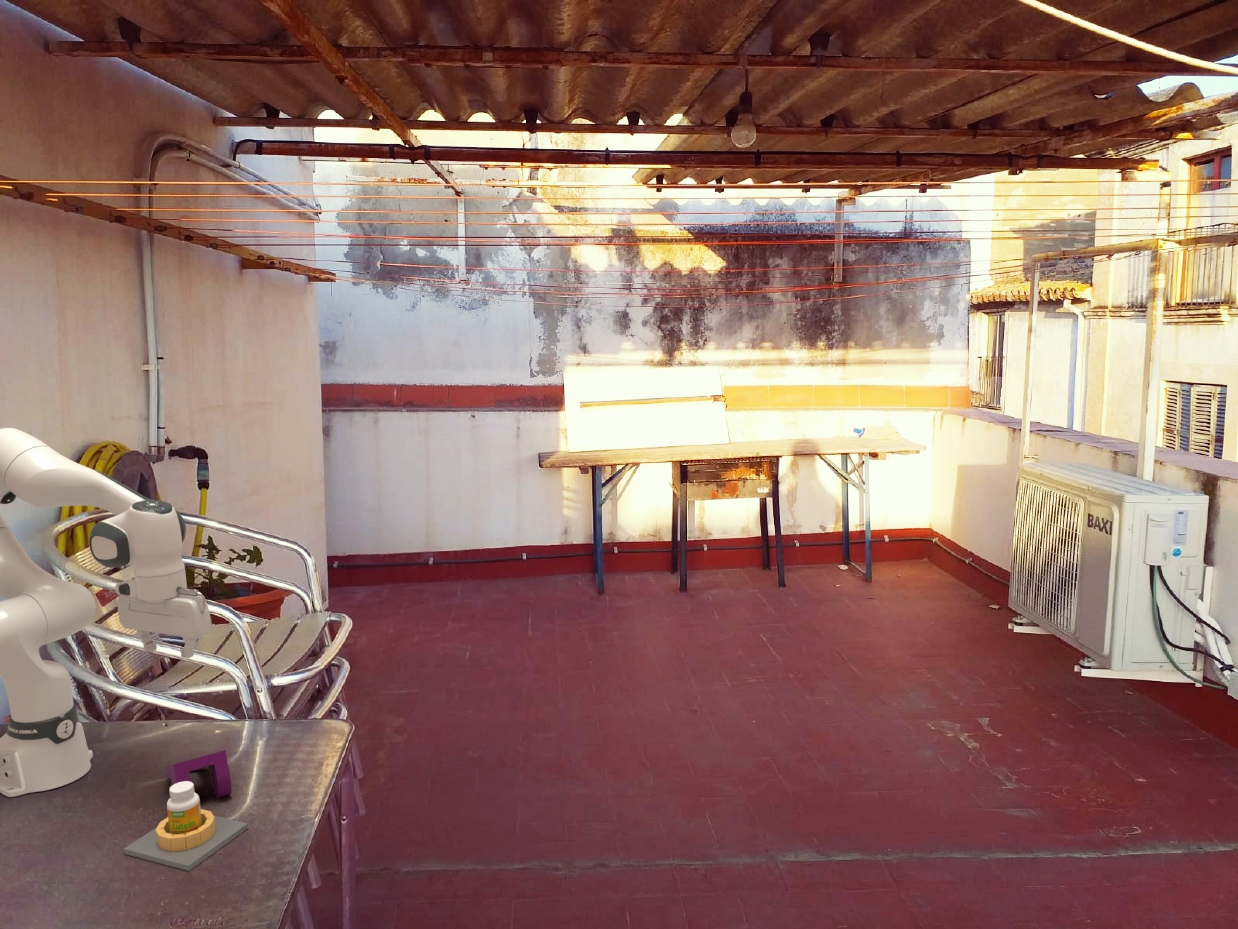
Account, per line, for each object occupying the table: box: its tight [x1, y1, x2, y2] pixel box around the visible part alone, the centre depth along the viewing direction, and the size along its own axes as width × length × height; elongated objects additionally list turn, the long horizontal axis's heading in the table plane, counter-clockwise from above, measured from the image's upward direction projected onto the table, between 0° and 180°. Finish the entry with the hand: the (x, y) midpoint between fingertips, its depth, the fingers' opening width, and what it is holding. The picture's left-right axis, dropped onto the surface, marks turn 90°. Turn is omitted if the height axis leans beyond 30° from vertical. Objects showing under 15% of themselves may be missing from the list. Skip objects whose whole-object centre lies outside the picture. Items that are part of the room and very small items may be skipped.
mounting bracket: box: [164, 749, 232, 799], centre depth 192 cm, size 10×8×18 cm
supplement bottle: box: [166, 781, 202, 834], centre depth 173 cm, size 5×5×10 cm
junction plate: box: [123, 808, 249, 872], centre depth 173 cm, size 15×14×4 cm
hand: (169, 654), depth 185 cm, fingers open, 8 cm apart
